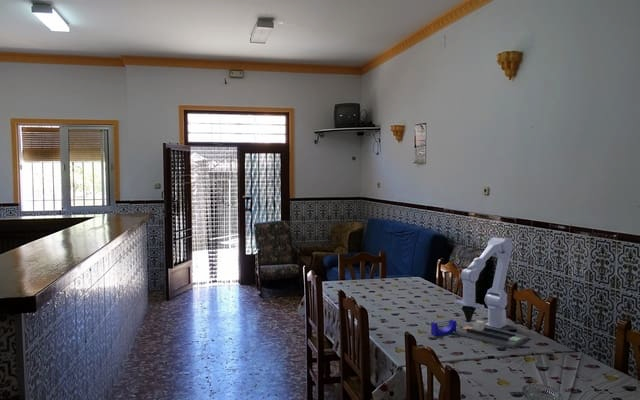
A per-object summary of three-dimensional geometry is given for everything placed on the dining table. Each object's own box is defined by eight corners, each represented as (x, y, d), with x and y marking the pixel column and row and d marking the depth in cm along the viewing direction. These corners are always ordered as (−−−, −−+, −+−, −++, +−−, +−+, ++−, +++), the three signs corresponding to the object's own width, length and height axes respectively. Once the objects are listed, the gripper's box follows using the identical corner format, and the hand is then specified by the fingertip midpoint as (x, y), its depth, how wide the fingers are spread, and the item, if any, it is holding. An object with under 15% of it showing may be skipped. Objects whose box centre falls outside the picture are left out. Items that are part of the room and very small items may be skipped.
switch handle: (477, 328, 240) (478, 320, 240) (483, 329, 238) (483, 321, 237) (473, 331, 236) (473, 322, 236) (478, 332, 234) (479, 324, 234)
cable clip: (450, 330, 243) (450, 318, 242) (456, 333, 238) (456, 321, 238) (429, 333, 238) (429, 321, 238) (434, 336, 234) (434, 323, 234)
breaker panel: (471, 326, 248) (471, 321, 248) (527, 339, 229) (527, 333, 229) (454, 334, 237) (454, 328, 237) (512, 348, 217) (512, 342, 217)
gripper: (451, 292, 242) (451, 320, 242) (479, 297, 232) (478, 326, 232) (458, 290, 247) (458, 317, 247) (486, 295, 237) (485, 323, 237)
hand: (468, 321), depth 240 cm, fingers closed
